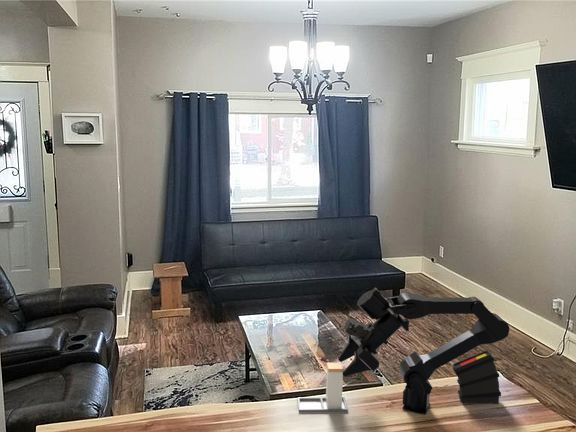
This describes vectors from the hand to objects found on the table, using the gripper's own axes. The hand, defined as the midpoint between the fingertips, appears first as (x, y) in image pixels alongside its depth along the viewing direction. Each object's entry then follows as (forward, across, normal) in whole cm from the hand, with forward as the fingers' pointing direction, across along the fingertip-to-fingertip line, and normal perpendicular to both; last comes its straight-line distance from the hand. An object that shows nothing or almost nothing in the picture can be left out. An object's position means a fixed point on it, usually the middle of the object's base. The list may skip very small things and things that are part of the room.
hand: (341, 367), depth 160 cm
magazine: (-19, -4, +37) cm, 42 cm away
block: (+9, 0, +7) cm, 12 cm away
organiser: (+12, 0, +5) cm, 13 cm away
